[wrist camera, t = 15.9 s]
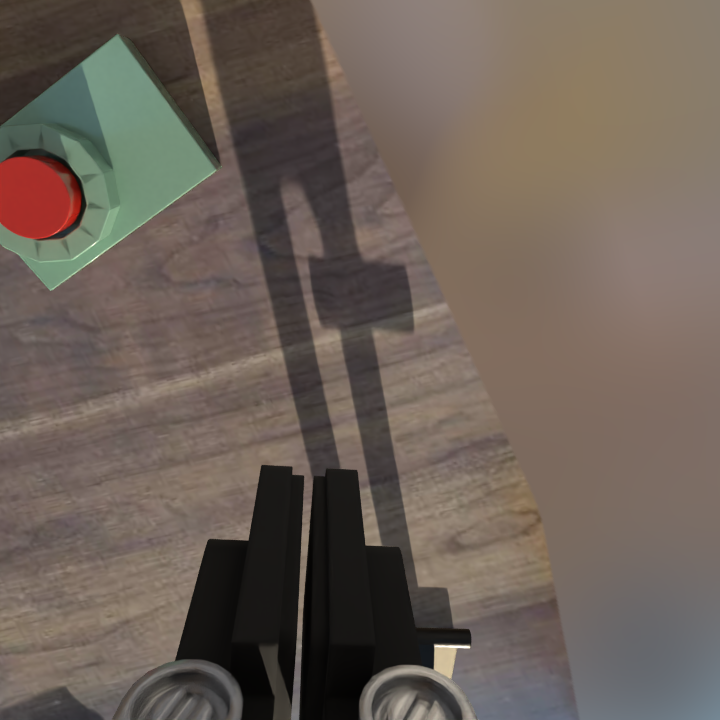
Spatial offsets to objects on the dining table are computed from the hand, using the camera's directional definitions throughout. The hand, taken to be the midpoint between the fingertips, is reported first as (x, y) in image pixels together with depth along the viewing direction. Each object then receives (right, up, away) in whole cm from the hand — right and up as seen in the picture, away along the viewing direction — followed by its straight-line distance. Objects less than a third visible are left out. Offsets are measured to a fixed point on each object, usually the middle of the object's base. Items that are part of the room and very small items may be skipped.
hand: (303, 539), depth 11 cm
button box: (-14, +14, +25) cm, 32 cm away
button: (-16, +12, +22) cm, 29 cm away
